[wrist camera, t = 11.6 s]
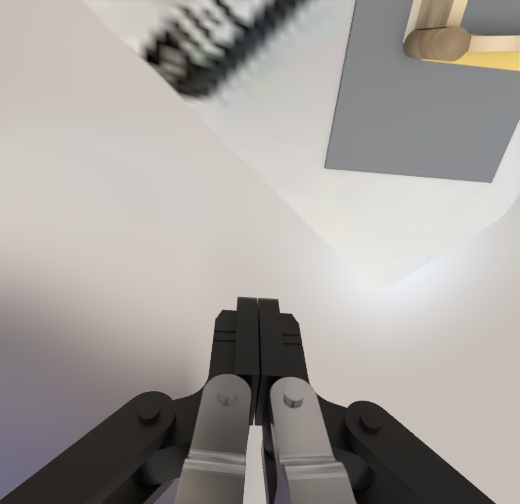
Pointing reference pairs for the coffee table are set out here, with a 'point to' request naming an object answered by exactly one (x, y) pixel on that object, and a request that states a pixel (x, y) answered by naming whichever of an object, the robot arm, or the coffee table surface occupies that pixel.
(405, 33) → the card
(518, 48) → the fence panel
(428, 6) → the wooden toy fence
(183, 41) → the coffee table surface
